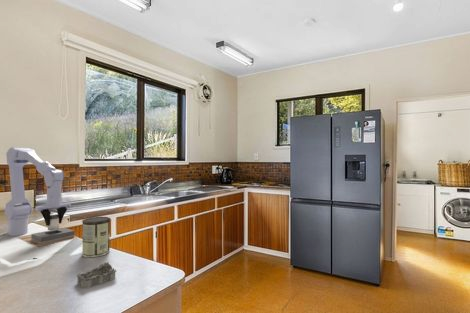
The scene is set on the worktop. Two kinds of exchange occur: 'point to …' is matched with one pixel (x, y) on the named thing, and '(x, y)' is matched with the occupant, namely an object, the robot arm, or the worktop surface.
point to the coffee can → (96, 236)
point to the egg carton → (96, 275)
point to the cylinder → (54, 222)
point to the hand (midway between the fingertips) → (53, 224)
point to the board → (28, 239)
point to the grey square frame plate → (52, 235)
